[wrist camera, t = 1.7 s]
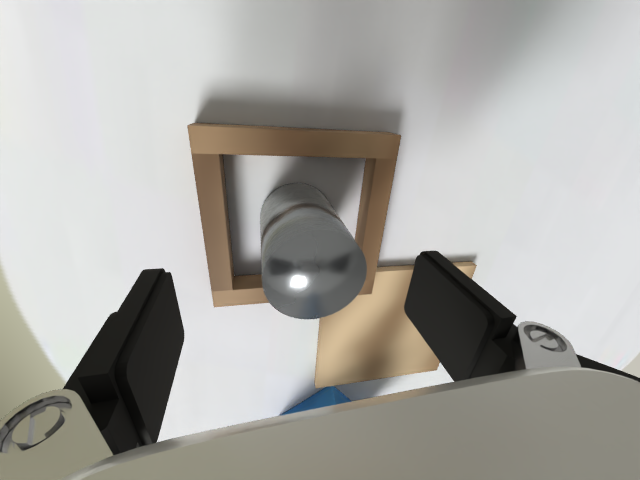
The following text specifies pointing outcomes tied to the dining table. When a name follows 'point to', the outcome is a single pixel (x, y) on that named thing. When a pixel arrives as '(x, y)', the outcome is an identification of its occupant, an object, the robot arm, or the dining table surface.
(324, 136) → the collar
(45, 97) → the dining table surface
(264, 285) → the peg
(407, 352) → the mat
